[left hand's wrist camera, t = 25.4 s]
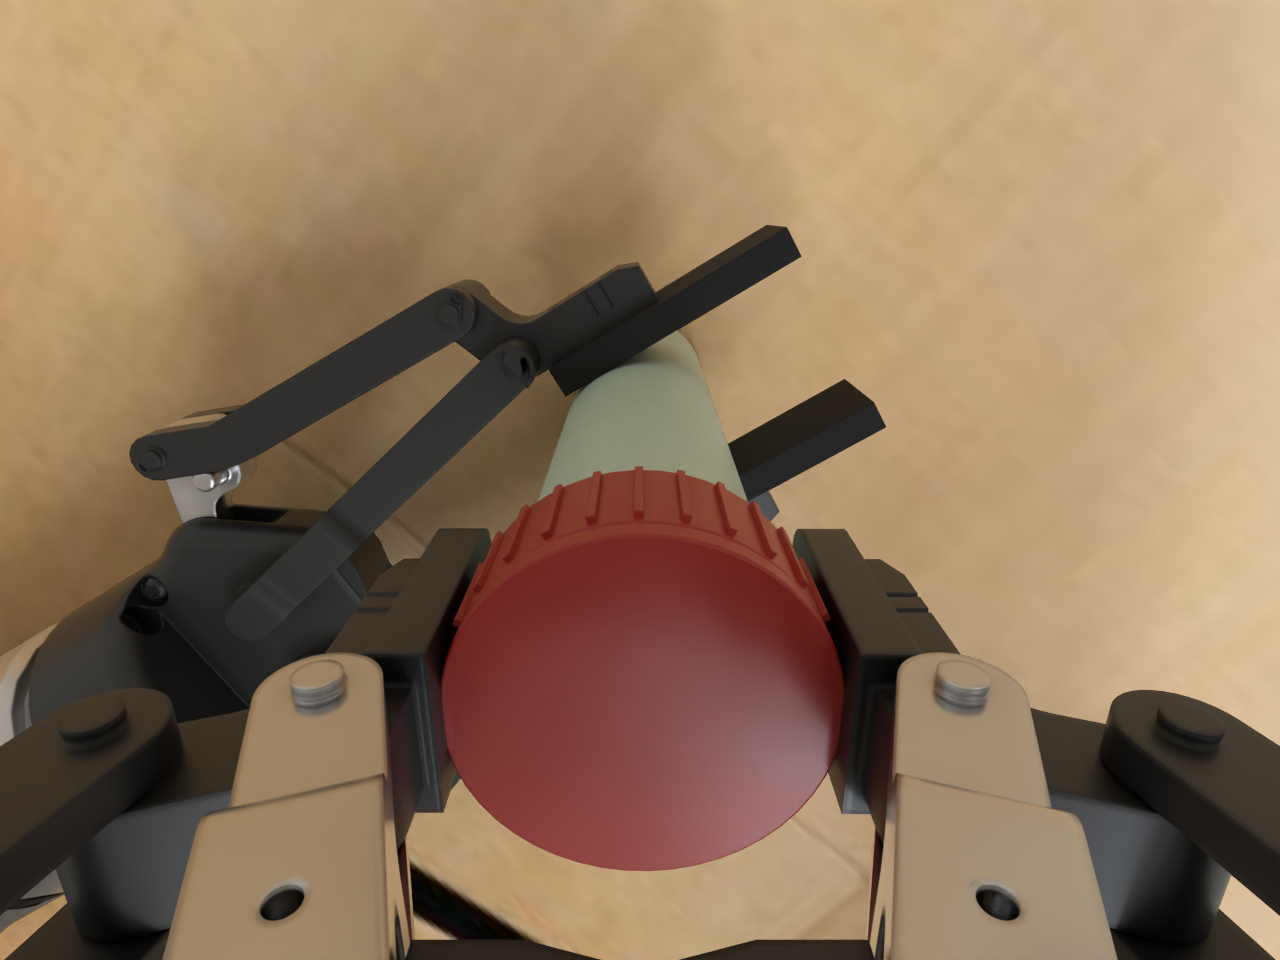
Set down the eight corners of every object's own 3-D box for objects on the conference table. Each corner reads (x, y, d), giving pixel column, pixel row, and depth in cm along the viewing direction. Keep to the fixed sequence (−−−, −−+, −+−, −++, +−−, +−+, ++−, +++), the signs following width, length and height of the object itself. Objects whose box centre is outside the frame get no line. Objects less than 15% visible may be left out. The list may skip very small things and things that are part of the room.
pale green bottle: (724, 370, 26) (864, 661, 10) (650, 455, 27) (661, 846, 11) (634, 293, 25) (619, 471, 9) (560, 385, 26) (425, 696, 10)
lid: (783, 773, 12) (812, 889, 10) (468, 749, 12) (432, 862, 10) (843, 480, 10) (894, 549, 8) (472, 447, 10) (431, 510, 8)
